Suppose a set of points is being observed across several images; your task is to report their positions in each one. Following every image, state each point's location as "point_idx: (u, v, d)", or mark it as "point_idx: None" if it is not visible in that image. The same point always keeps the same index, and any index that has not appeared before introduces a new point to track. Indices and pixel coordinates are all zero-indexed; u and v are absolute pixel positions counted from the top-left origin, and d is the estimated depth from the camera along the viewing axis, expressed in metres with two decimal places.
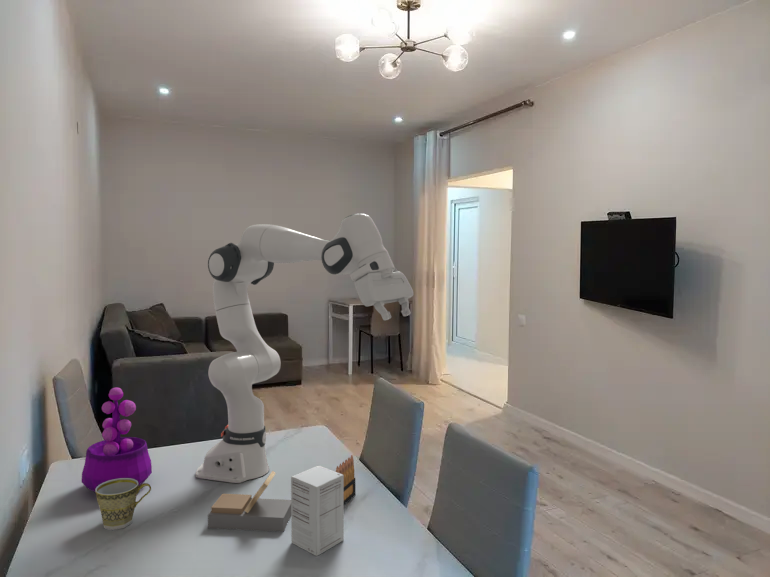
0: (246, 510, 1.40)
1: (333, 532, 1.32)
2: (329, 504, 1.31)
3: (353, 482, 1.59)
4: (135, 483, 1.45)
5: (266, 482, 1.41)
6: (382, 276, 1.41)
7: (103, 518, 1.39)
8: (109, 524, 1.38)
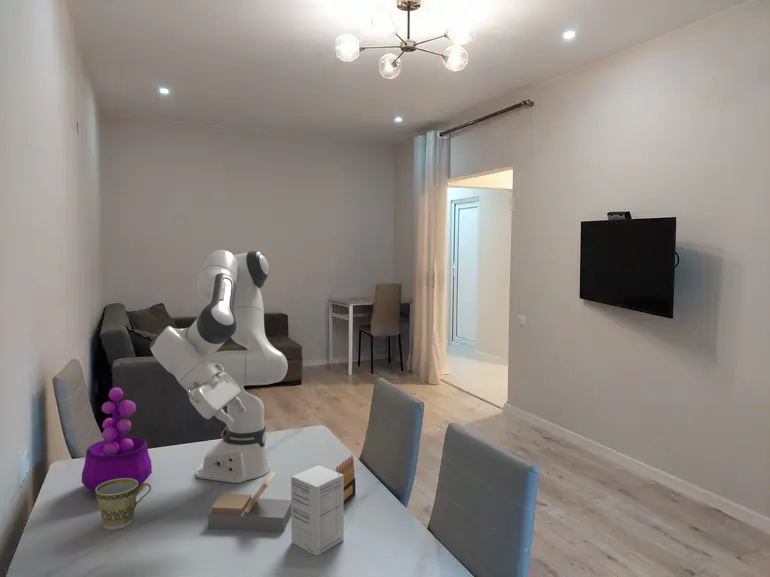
0: (246, 510, 1.40)
1: (333, 532, 1.32)
2: (329, 504, 1.31)
3: (353, 482, 1.59)
4: (135, 483, 1.45)
5: (266, 482, 1.41)
6: None
7: (103, 518, 1.39)
8: (109, 524, 1.38)
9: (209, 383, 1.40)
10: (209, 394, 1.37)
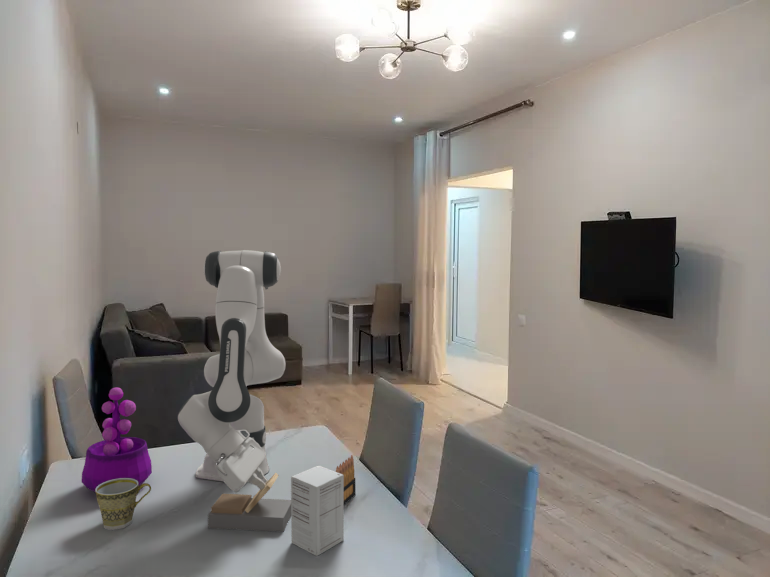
0: (246, 510, 1.40)
1: (333, 532, 1.32)
2: (329, 504, 1.31)
3: (353, 482, 1.59)
4: (135, 483, 1.45)
5: (269, 484, 1.40)
6: None
7: (103, 518, 1.39)
8: (109, 524, 1.38)
9: (236, 453, 1.41)
10: (236, 465, 1.38)
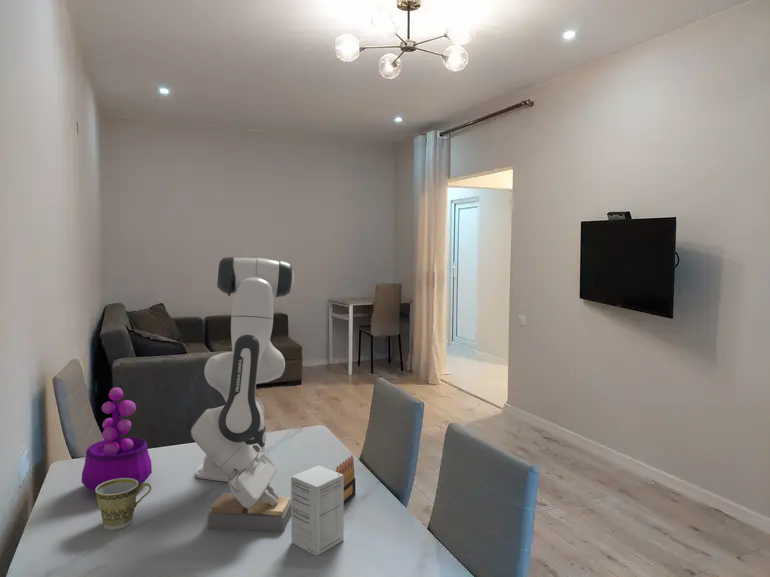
0: (249, 510, 1.40)
1: (333, 532, 1.32)
2: (329, 504, 1.31)
3: (353, 482, 1.59)
4: (135, 483, 1.45)
5: (283, 511, 1.41)
6: None
7: (103, 518, 1.39)
8: (109, 524, 1.38)
9: (248, 469, 1.41)
10: (249, 481, 1.38)
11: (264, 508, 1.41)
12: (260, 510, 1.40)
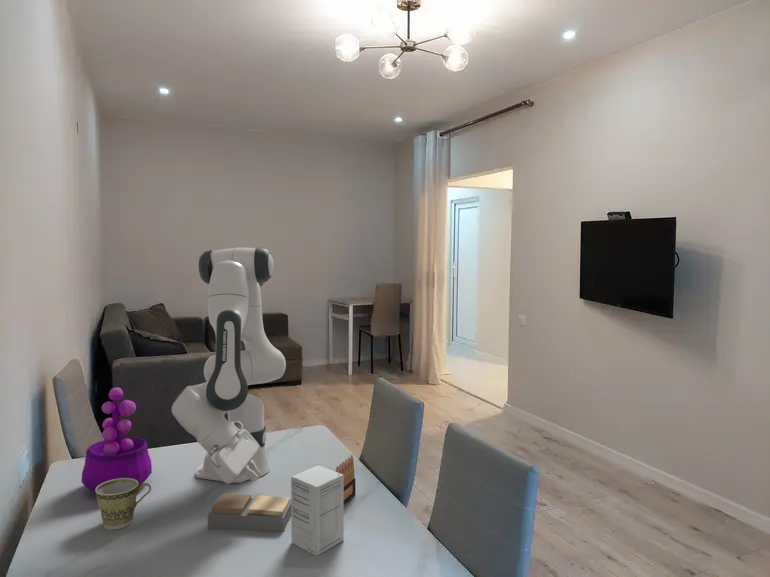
0: (249, 510, 1.40)
1: (333, 532, 1.32)
2: (329, 504, 1.31)
3: (353, 482, 1.59)
4: (135, 483, 1.45)
5: (283, 511, 1.41)
6: None
7: (103, 518, 1.39)
8: (109, 524, 1.38)
9: (229, 445, 1.41)
10: (229, 457, 1.38)
11: (264, 508, 1.41)
12: (260, 510, 1.40)
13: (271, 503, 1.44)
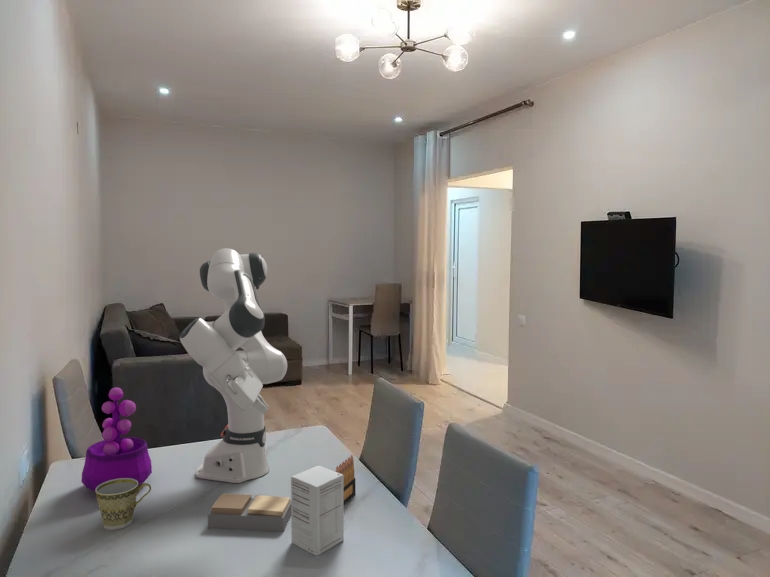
0: (249, 510, 1.40)
1: (333, 532, 1.32)
2: (329, 504, 1.31)
3: (353, 482, 1.59)
4: (135, 483, 1.45)
5: (283, 511, 1.41)
6: None
7: (103, 518, 1.39)
8: (109, 524, 1.38)
9: (241, 376, 1.40)
10: (243, 386, 1.37)
11: (264, 508, 1.41)
12: (260, 510, 1.40)
13: (271, 503, 1.44)
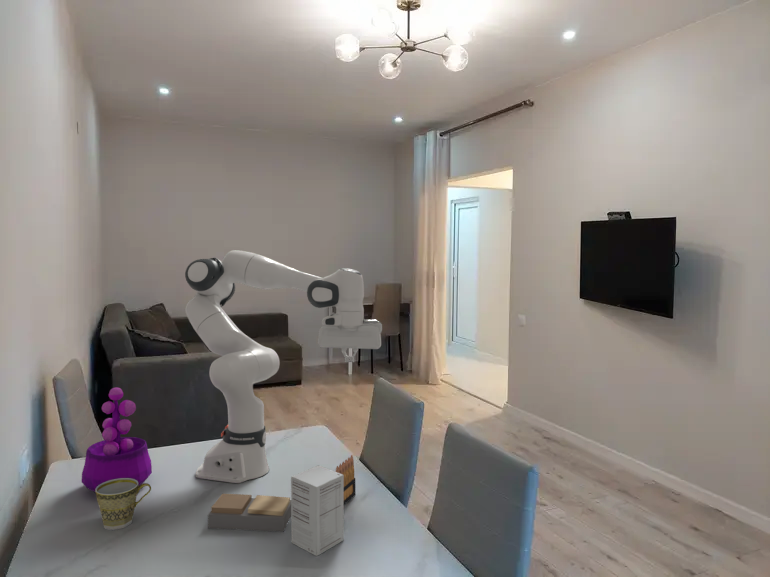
0: (249, 510, 1.40)
1: (333, 532, 1.32)
2: (329, 504, 1.31)
3: (353, 482, 1.59)
4: (135, 483, 1.45)
5: (283, 511, 1.41)
6: (341, 329, 1.75)
7: (103, 518, 1.39)
8: (109, 524, 1.38)
9: None
10: None
11: (264, 508, 1.41)
12: (260, 510, 1.40)
13: (271, 503, 1.44)
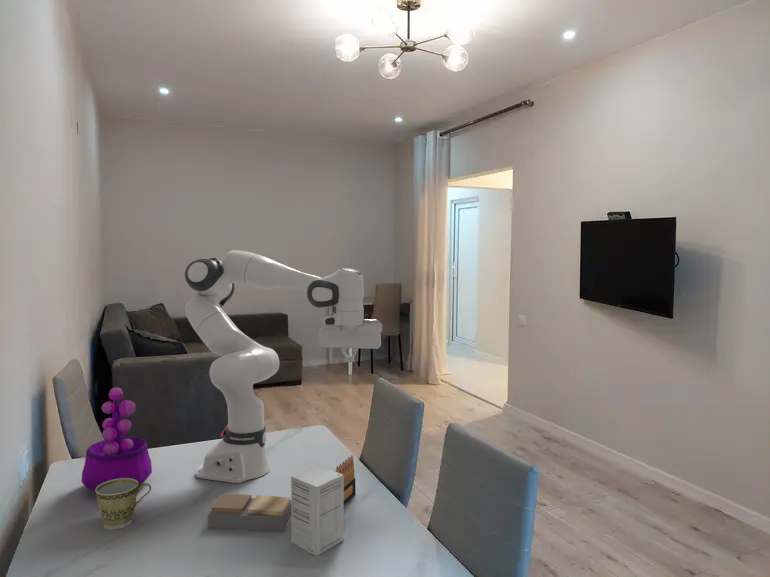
0: (249, 510, 1.40)
1: (333, 532, 1.32)
2: (329, 504, 1.31)
3: (353, 482, 1.59)
4: (135, 483, 1.45)
5: (283, 511, 1.41)
6: (341, 329, 1.75)
7: (103, 518, 1.39)
8: (109, 524, 1.38)
9: None
10: None
11: (264, 508, 1.41)
12: (260, 510, 1.40)
13: (271, 503, 1.44)
